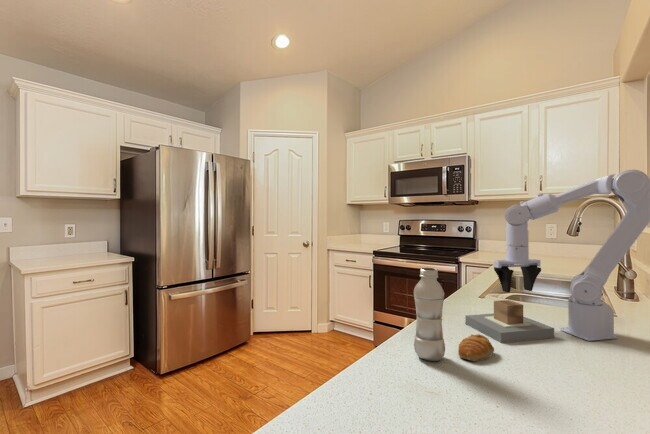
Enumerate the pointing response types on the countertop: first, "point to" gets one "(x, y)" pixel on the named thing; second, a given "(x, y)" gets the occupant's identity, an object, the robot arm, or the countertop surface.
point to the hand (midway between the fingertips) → (517, 291)
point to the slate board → (509, 328)
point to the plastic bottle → (429, 316)
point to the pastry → (475, 348)
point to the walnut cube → (508, 312)
